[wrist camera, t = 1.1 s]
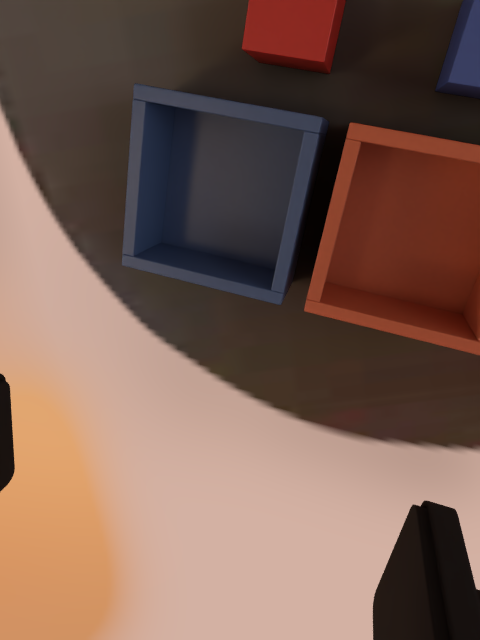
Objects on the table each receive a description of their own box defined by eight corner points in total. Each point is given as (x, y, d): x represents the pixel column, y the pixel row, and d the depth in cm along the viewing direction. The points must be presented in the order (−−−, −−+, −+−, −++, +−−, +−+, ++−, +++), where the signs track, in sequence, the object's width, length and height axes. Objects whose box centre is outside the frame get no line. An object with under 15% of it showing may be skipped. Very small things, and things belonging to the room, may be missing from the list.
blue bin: (169, 92, 30) (133, 83, 25) (329, 121, 28) (322, 116, 23) (153, 249, 34) (121, 265, 29) (292, 282, 32) (280, 305, 28)
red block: (272, -24, 26) (256, -54, 22) (349, -14, 25) (346, -44, 21) (258, 62, 28) (241, 49, 24) (329, 74, 27) (324, 62, 23)
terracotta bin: (352, 125, 28) (350, 122, 23) (536, 158, 26) (573, 162, 21) (312, 287, 32) (303, 311, 27) (468, 324, 30) (487, 357, 26)
